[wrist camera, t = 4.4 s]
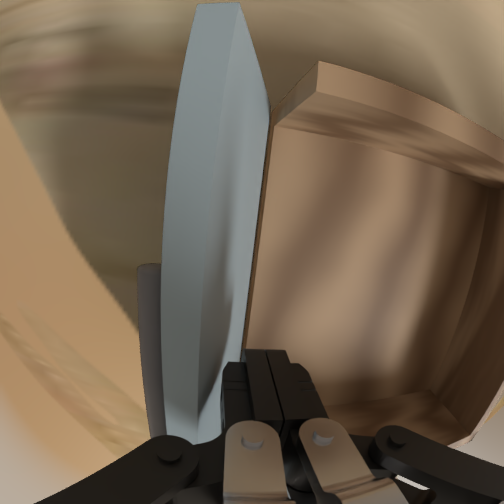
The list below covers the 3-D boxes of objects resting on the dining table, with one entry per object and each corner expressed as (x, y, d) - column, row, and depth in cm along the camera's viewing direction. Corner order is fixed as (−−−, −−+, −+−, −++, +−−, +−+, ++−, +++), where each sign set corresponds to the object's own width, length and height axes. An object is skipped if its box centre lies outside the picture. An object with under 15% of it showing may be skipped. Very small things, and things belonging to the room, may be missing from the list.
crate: (485, 175, 19) (563, 187, 11) (426, 388, 25) (471, 440, 16) (271, 112, 17) (318, 60, 8) (235, 406, 22) (245, 496, 13)
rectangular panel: (270, 106, 15) (239, 2, 5) (231, 421, 20) (199, 533, 10) (232, 103, 15) (154, 9, 5) (204, 415, 20) (161, 523, 10)
